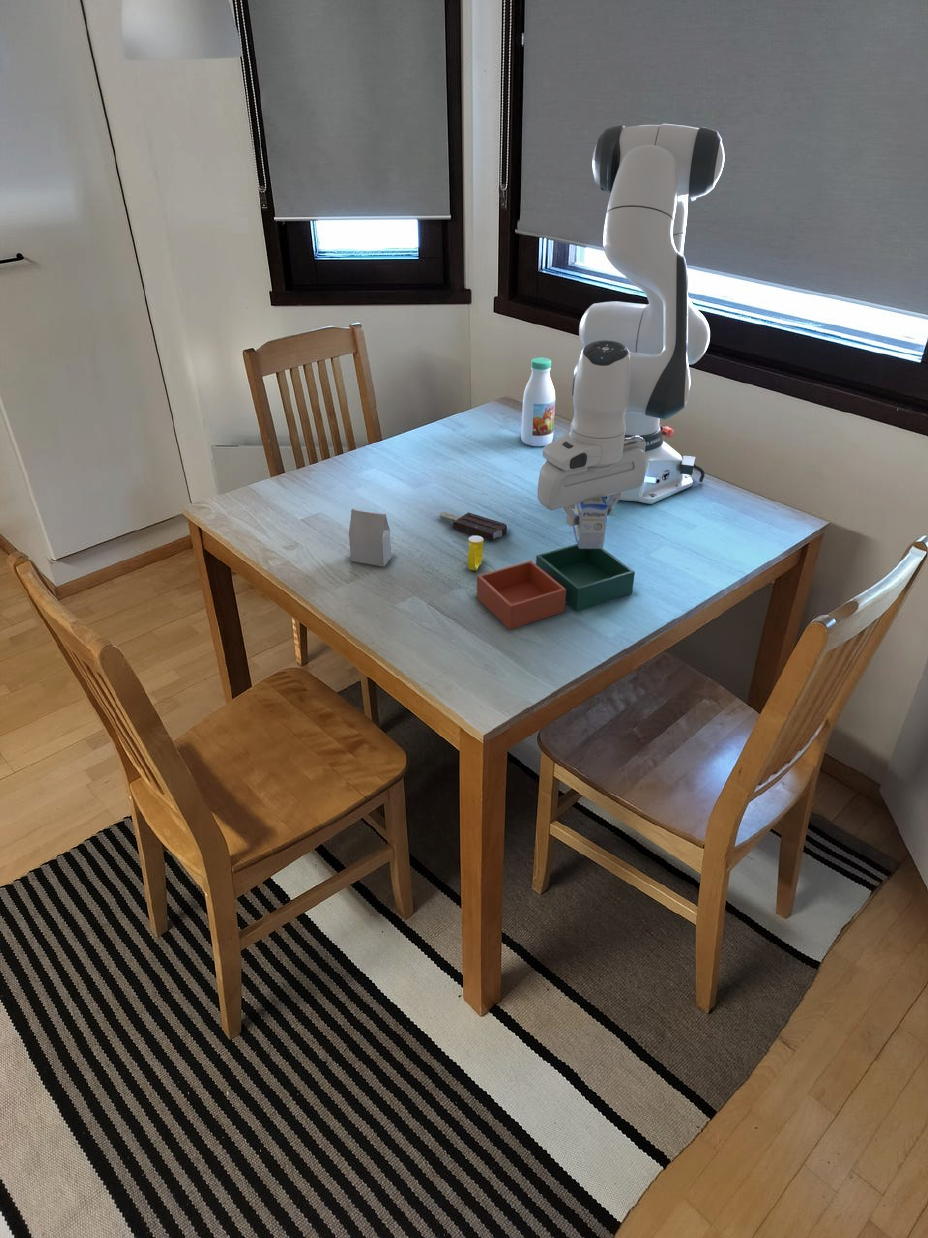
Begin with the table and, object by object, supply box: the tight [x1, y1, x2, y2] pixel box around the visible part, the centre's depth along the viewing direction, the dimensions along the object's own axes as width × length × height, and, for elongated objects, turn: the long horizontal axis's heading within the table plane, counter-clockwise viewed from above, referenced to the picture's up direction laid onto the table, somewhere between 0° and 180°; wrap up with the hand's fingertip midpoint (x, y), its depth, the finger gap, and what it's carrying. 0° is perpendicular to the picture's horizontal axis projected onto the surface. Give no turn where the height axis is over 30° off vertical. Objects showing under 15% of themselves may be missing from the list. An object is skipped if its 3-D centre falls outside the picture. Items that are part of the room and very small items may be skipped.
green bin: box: [535, 543, 636, 612], centre depth 158 cm, size 12×13×5 cm
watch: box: [467, 535, 485, 571], centre depth 162 cm, size 6×3×6 cm, turn 163°
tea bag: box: [348, 508, 392, 568], centre depth 164 cm, size 4×7×10 cm, turn 71°
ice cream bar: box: [439, 511, 508, 542], centre depth 177 cm, size 5×2×15 cm
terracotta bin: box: [476, 560, 566, 630], centre depth 152 cm, size 11×11×5 cm
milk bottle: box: [520, 357, 556, 447], centre depth 208 cm, size 8×8×20 cm
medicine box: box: [571, 497, 608, 549], centre depth 151 cm, size 8×4×9 cm, turn 2°
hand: (589, 519), depth 151 cm, fingers closed on medicine box, 6 cm apart
